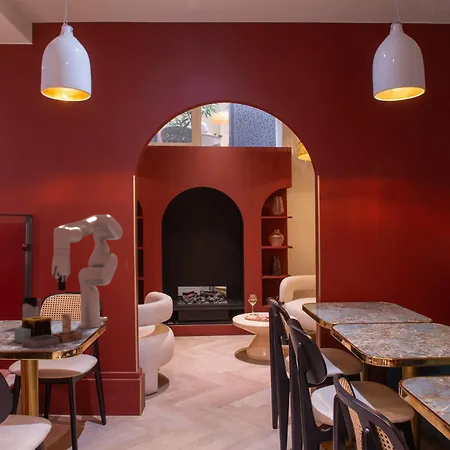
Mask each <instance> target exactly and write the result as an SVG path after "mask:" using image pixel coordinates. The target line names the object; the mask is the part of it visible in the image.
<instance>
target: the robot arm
mask: <svg viewBox="0 0 450 450" xmlns="http://www.w3.org/2000/svg"><path fill="white" fill-rule="evenodd" d="M123 232H124V231H123V228H122V226H121V224H119V222H118V221H117V220H116V219H115V218H114V217H113V216H112V215H109V214H94V215H91V216H88V217H86V218H84V219H82V220H78V221H74V222H70V223H65V224H63V225H60V226H57V227H55V228H54V229H53V257H52V262H51V263H52V264H51V276H53V277H54V279H55V280H56V281H57V290H58V291H66V289H67V288H66V284H67V283H66V282H67V278H69V275H70V274H71V257H70V256H71V243H78V242H80V241H81V240H82V239H83V237H86V236H89V235H91V234H92V236H93V241H94V248H93V251H92V253H91V255H90V257H89V259H88V263H87V264H88V267H84V268H82V269H80V271H79V272H78V281H79V285H80V288H79V289H80V319H81V321H80V322H81V323H78V326H77V327H78V328H79V329H80V328H81V329H94V328H100V327H102V326H104V325H103V322H105V321H108V317H107V316H104V317H102V316H100V292H99V289H98V287H97V286H108V285H109V284H110V283H111V281H112V279H113V277H114V274H115V273H116V270H117V267H118V256H117V255H116V254H115V253H114V252H110V250H111V249H110V246H109V245H108V243H107V241H108V240H109V241H114V240H119V239H120V240H121V238H122V236H123V235H124V233H123Z"/></svg>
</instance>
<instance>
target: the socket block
mask: <svg viewBox="0 0 450 450" xmlns="http://www.w3.org/2000/svg"><path fill="white" fill-rule="evenodd" d="M51 336H55V337H59V343H61V344H64V343H69V342H74V341H80V340H83V333H82V332H80V331H75V330H71V334H67V335H62V331H59V332H54V333H53V332H52V334H51Z"/></svg>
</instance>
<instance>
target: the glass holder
mask: <svg viewBox="0 0 450 450" xmlns="http://www.w3.org/2000/svg"><path fill="white" fill-rule="evenodd" d="M38 301H39V303H38ZM38 304H39V307H38ZM41 308H42V300H41V299H40V298H38V297H23V298H22V319H25V318H31V317H37V316H39V314H40V312H41Z"/></svg>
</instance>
